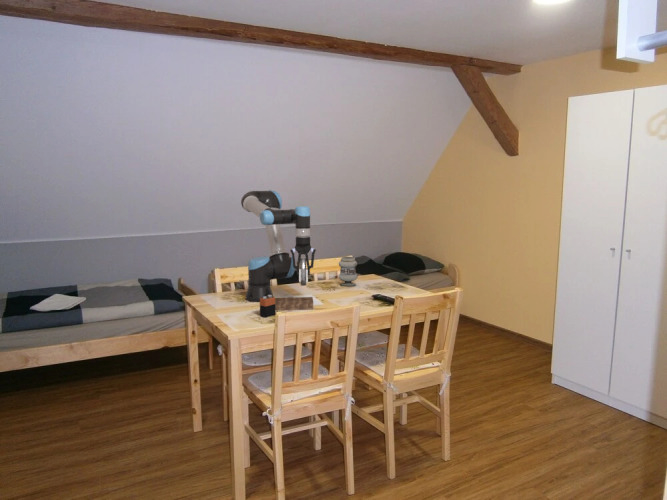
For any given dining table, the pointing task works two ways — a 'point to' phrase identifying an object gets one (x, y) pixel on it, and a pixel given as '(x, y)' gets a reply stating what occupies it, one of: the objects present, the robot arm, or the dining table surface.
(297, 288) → the dining table surface
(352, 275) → the apothecary jar
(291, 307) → the hole block
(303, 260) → the pin
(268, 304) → the battery
